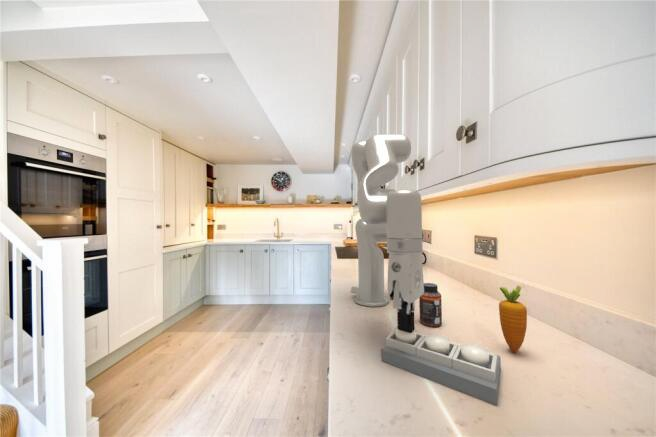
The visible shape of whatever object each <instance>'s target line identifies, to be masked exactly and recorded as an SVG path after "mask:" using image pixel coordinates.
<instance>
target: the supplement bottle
mask: <svg viewBox="0 0 656 437" xmlns="http://www.w3.org/2000/svg"><path fill="white" fill-rule="evenodd" d="M418 301H419V302H418V303H419V304H418V305H419V307H418V308H419V322H420V323H421V324H422V325H424V326H426V327H432V328H437V327H438V328H439V327H441V325H442V324H443V320H442V319H443V314H442V312H443V311H442V308H443V306H442V293H441V292H439V288H438V285H437V284H436V283H433V282H431V283H430V282H424V293H423V295H422V296H420V297H419V298H418Z"/></svg>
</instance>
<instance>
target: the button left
mask: <svg viewBox="0 0 656 437" xmlns="http://www.w3.org/2000/svg"><path fill="white" fill-rule="evenodd" d="M394 330H395V338H396V340H398V341H401V342H405V343H408V344H414V343H416V341H417V340H416V333H417V329H415V330H414V331H413V332H412V333H408V332H405V331H401V330H399V329H398V325H397V326H395V329H394Z"/></svg>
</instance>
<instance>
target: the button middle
mask: <svg viewBox="0 0 656 437" xmlns="http://www.w3.org/2000/svg"><path fill="white" fill-rule="evenodd" d="M425 335H426V349H427V350H430V351H433V352H437V353H440V354H443V355H445V354H448V353H449V352H450V345H449V342H450V339H449V338H448V337H447V336H446V335H442V334H439V333H428V334H425Z"/></svg>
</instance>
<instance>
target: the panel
mask: <svg viewBox="0 0 656 437" xmlns="http://www.w3.org/2000/svg"><path fill="white" fill-rule="evenodd" d="M426 335H427V334H423V333H419V332H416V340H417V341H416V343H414V344H408V343H405V342H401V341H398V340H396V338H395V329H394V331H392V332H391V333H390V334H389V335H387V337H386V338H385V345H383V347H382V348H381V350H380V351H381V353H380V358H381V362H384V363H386V364H389V365H391V366H393V367H396V368H399V369H401V370H404V371H407V372H409V373H412V374H414V375H417V376H419V377H422V378H425V379H428V380H430V381H433V382H435V383H437V384H440V385H443V386H446V387H447V388H451V389H454V390H455V391H458V392H461V393H463V394H466V395H469V396H472V397H473V398H477V399H478V400H482V401H484V402H487V403H490V404H492V405H495V406H498V399H499V390H500V380H501V379H500V378H501V372H502V371H501V368H502V367H501V355H498V354H494V353H492V352H489V366H487V367H482V366H478V365H475V364H472V363H469V362H466V361H464V360H463V359H462V358H461V345H462V344H459V343H456V342H452V341H449V345H450V352H449V353H448V354H445V355H443V354H440V353H437V352H433V351H430V350H427V349H426Z"/></svg>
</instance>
